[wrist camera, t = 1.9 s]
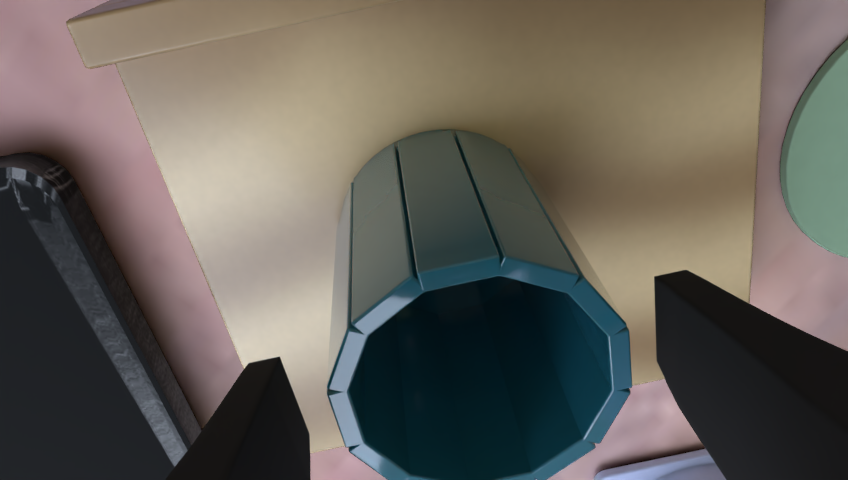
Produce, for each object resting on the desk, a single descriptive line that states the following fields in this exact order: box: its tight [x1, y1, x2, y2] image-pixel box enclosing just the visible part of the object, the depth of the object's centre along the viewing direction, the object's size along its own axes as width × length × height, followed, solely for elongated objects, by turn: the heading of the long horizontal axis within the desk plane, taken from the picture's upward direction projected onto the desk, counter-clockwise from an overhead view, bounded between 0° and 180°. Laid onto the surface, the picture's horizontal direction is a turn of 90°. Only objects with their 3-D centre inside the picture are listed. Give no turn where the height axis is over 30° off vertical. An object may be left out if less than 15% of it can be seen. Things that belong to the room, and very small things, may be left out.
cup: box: [327, 129, 632, 480], centre depth 15 cm, size 5×5×6 cm
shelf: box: [66, 0, 766, 453], centre depth 18 cm, size 14×15×5 cm
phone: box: [0, 153, 202, 480], centre depth 22 cm, size 8×1×15 cm
